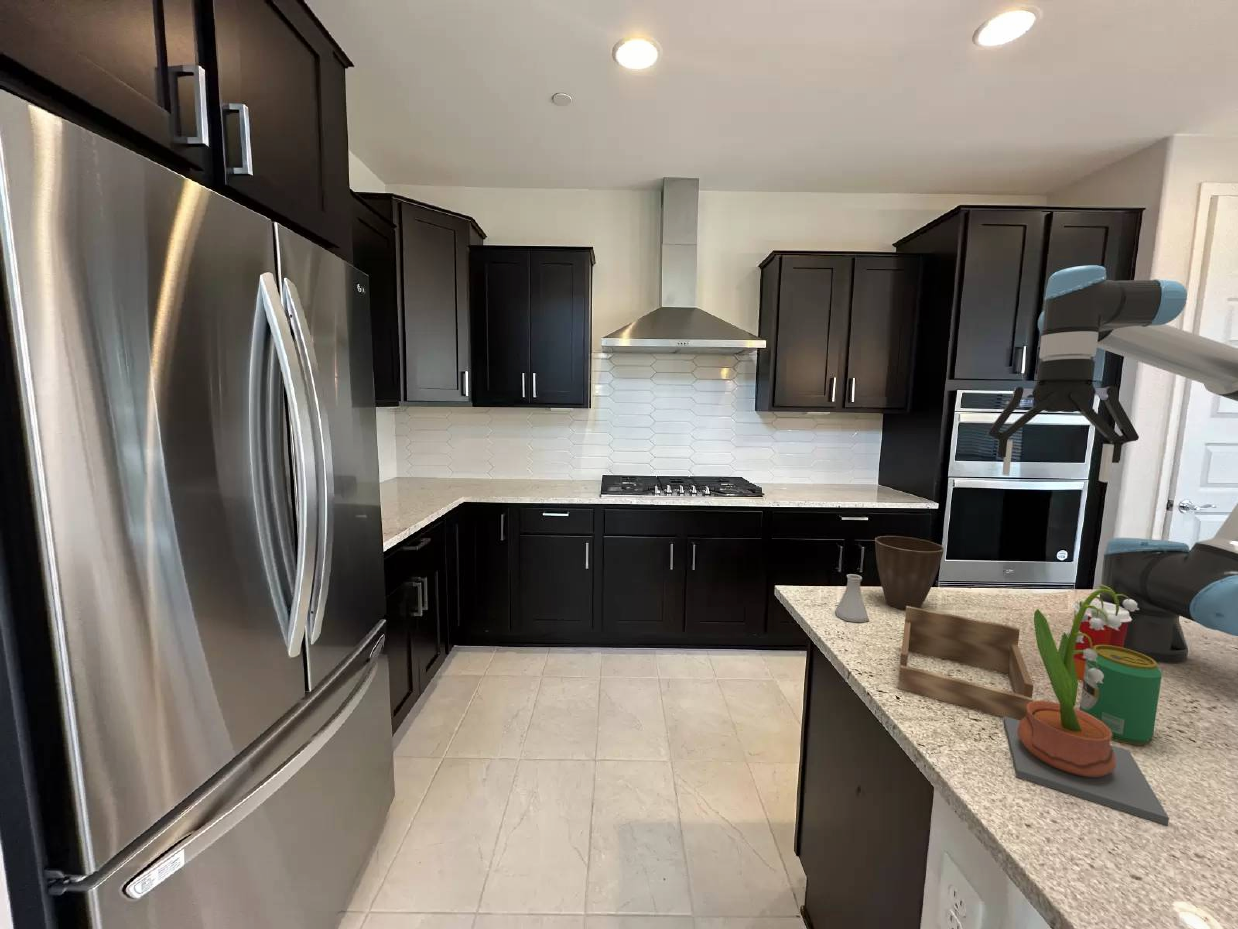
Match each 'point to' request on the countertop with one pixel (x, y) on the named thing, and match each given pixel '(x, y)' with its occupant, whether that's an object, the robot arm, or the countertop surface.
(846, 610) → the flask
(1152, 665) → the beverage can
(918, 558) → the plant pot
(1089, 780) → the mat
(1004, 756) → the countertop surface
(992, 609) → the countertop surface
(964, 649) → the frame
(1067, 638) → the potted flower
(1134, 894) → the countertop surface
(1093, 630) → the paper cup
